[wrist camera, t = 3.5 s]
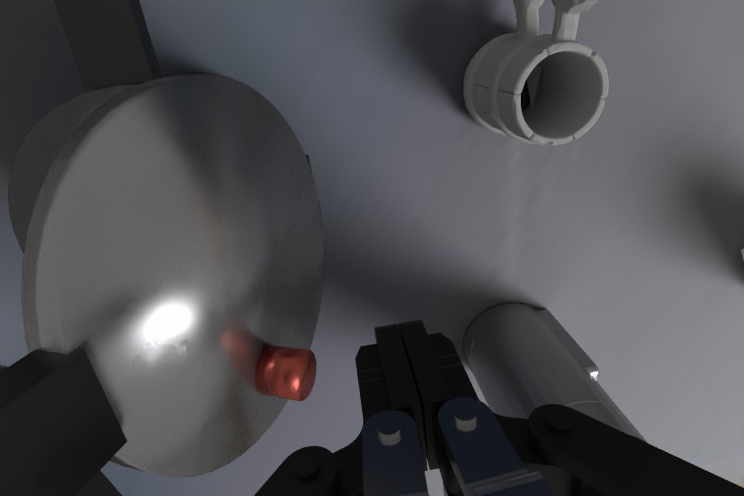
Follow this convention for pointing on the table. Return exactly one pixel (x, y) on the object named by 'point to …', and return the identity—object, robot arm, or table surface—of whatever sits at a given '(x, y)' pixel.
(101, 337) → the lid
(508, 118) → the mug
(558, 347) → the robot arm
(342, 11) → the table surface
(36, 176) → the pot
